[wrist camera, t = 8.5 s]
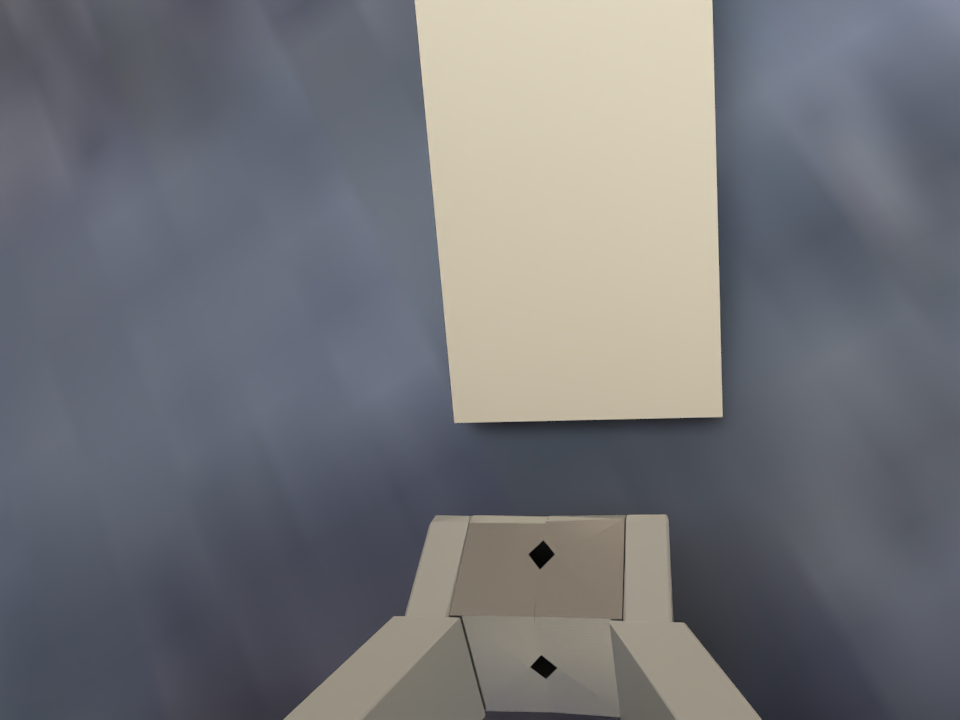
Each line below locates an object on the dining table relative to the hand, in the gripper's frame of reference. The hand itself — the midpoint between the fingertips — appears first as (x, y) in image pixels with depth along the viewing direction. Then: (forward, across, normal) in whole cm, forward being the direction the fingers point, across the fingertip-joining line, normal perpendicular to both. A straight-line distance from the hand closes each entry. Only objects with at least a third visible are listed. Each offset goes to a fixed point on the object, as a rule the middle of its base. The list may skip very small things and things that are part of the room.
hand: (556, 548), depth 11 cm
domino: (+6, 0, +2) cm, 6 cm away
